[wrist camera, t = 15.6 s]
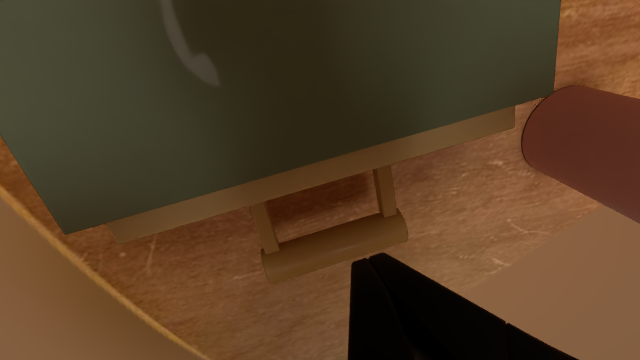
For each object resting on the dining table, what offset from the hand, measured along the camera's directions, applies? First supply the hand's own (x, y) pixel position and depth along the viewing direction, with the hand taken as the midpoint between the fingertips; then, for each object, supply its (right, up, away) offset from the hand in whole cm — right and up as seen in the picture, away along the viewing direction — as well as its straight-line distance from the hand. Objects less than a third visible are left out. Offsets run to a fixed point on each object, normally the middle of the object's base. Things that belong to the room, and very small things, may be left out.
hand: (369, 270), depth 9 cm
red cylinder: (+12, +5, +11) cm, 17 cm away
